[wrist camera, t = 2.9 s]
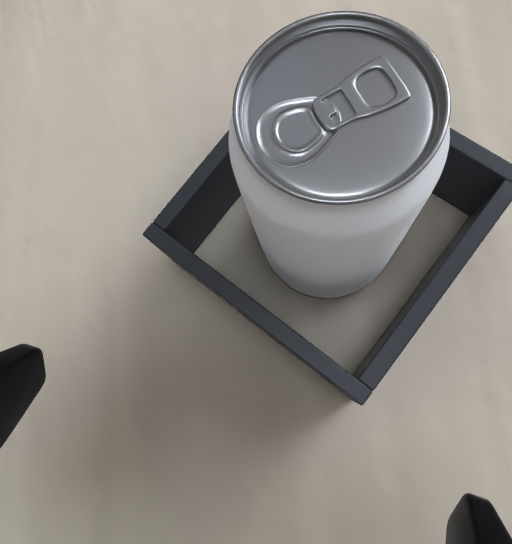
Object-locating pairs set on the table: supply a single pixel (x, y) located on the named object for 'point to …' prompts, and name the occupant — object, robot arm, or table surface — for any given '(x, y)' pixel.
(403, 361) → the table surface
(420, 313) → the bin
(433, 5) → the table surface
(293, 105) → the can
